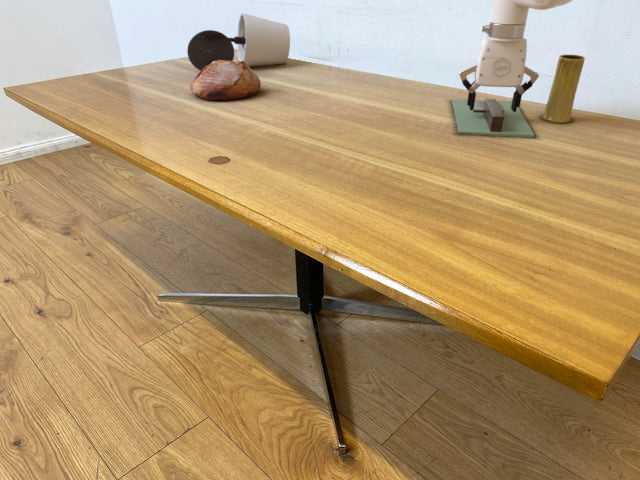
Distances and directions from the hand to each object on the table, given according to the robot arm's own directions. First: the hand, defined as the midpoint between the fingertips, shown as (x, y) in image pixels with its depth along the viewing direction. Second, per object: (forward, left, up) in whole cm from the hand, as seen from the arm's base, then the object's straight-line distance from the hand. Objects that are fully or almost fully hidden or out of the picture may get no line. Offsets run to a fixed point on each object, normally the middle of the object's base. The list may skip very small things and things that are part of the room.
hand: (492, 109), depth 114 cm
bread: (+71, -14, -3) cm, 73 cm away
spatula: (0, -1, -2) cm, 2 cm away
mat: (0, -2, -3) cm, 3 cm away
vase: (-16, -3, -3) cm, 16 cm away
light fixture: (+77, -47, -3) cm, 90 cm away
